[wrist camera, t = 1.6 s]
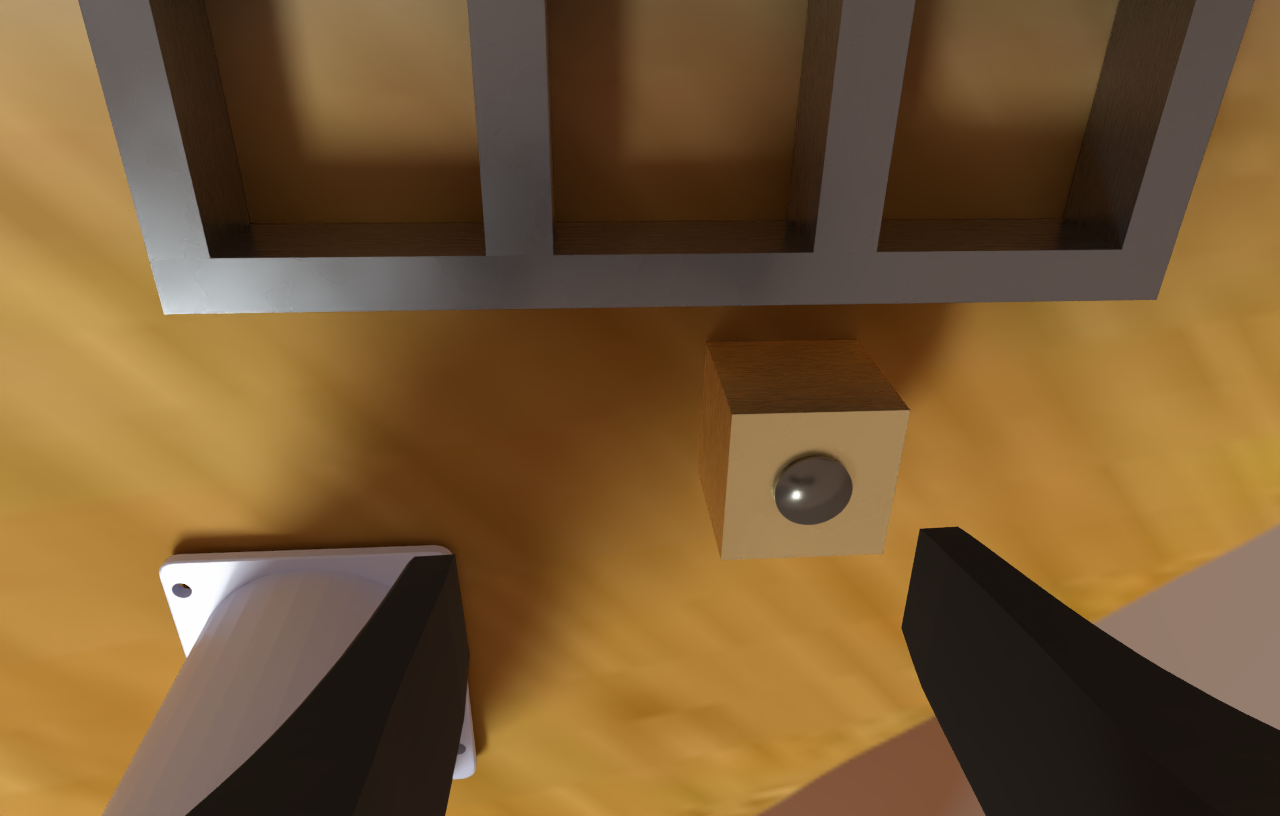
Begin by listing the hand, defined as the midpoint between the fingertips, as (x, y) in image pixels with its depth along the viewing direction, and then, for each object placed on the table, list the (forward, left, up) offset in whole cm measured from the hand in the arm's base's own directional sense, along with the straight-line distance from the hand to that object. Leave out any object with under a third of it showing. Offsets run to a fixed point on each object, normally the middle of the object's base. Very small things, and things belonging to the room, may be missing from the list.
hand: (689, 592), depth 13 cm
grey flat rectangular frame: (+6, -1, -10) cm, 11 cm away
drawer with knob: (-2, -4, -10) cm, 11 cm away
